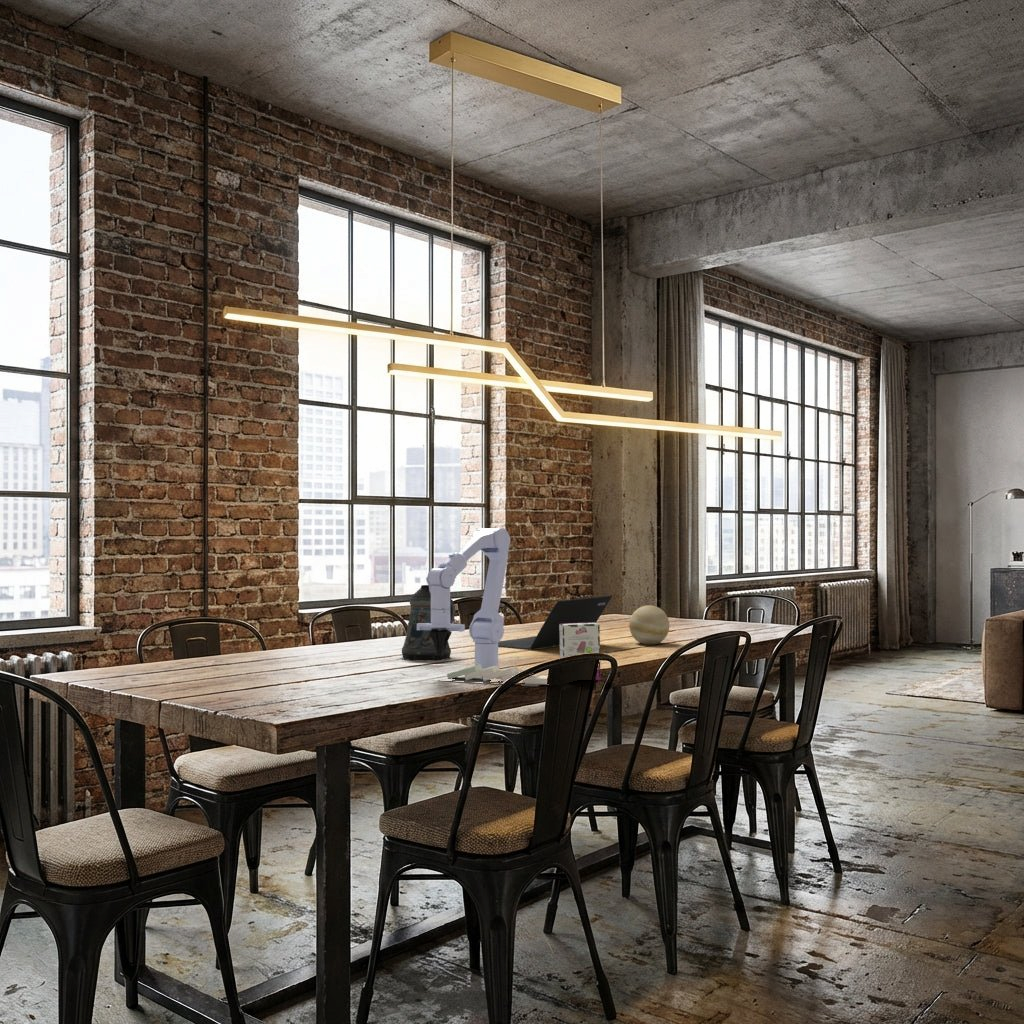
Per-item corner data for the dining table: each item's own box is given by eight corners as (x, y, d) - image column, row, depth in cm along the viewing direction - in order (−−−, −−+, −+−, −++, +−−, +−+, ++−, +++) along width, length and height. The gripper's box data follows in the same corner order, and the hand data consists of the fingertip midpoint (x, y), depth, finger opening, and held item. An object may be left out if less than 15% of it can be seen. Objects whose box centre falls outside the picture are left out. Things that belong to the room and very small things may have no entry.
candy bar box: (596, 678, 303) (595, 622, 303) (600, 680, 298) (600, 623, 298) (559, 679, 301) (558, 623, 301) (563, 681, 296) (563, 624, 296)
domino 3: (501, 676, 293) (529, 668, 290) (507, 674, 297) (535, 666, 294) (503, 682, 293) (531, 673, 290) (509, 679, 297) (537, 671, 294)
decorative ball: (648, 642, 400) (647, 603, 400) (677, 645, 388) (677, 605, 388) (621, 645, 390) (620, 605, 390) (650, 648, 378) (650, 607, 379)
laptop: (535, 640, 410) (535, 591, 410) (613, 647, 385) (612, 595, 386) (478, 648, 385) (478, 596, 385) (557, 655, 360) (557, 600, 360)
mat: (419, 680, 299) (419, 678, 299) (432, 676, 308) (432, 674, 308) (537, 686, 287) (537, 685, 287) (547, 682, 295) (547, 680, 295)
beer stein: (393, 662, 342) (393, 586, 342) (416, 655, 360) (416, 583, 361) (440, 663, 337) (440, 587, 337) (460, 656, 356) (460, 584, 356)
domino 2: (482, 675, 295) (510, 668, 292) (488, 673, 300) (516, 665, 297) (483, 681, 295) (511, 673, 292) (490, 678, 299) (518, 671, 296)
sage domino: (446, 673, 299) (474, 666, 296) (453, 671, 303) (480, 664, 300) (448, 679, 298) (475, 671, 296) (455, 677, 303) (482, 669, 300)
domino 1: (464, 674, 297) (492, 666, 294) (471, 672, 301) (498, 664, 298) (465, 680, 297) (493, 672, 294) (472, 678, 301) (500, 670, 298)
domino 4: (519, 677, 291) (549, 678, 288) (525, 674, 296) (555, 676, 292) (519, 683, 291) (549, 684, 288) (525, 680, 296) (555, 682, 292)
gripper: (412, 609, 301) (412, 656, 301) (458, 610, 296) (458, 658, 296) (422, 607, 308) (422, 653, 308) (467, 608, 303) (467, 655, 303)
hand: (440, 655), depth 302 cm, fingers closed
